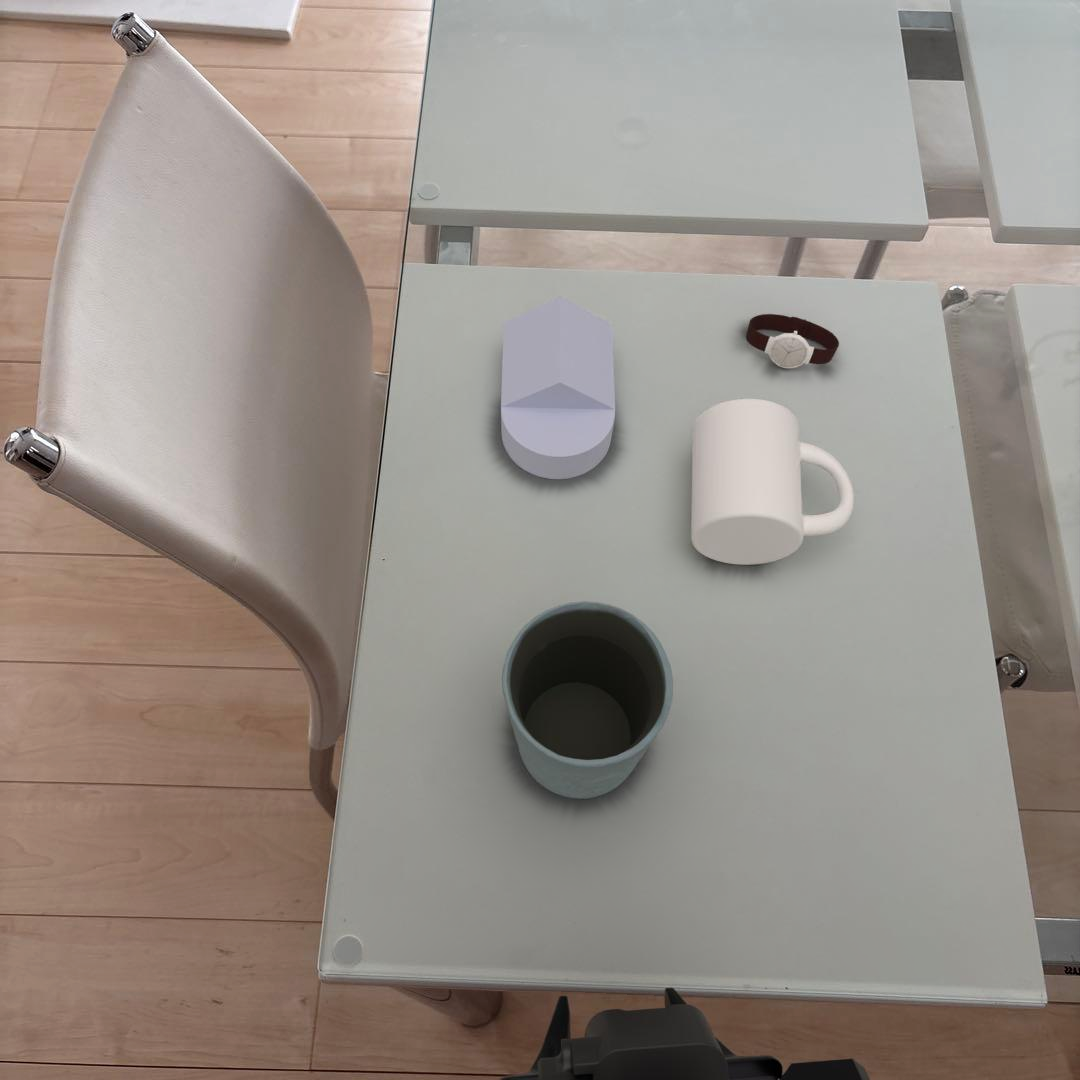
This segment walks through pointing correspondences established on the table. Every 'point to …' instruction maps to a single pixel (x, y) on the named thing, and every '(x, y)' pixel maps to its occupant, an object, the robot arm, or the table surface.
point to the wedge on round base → (557, 389)
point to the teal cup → (585, 696)
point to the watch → (791, 340)
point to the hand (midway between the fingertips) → (616, 998)
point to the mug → (756, 484)
